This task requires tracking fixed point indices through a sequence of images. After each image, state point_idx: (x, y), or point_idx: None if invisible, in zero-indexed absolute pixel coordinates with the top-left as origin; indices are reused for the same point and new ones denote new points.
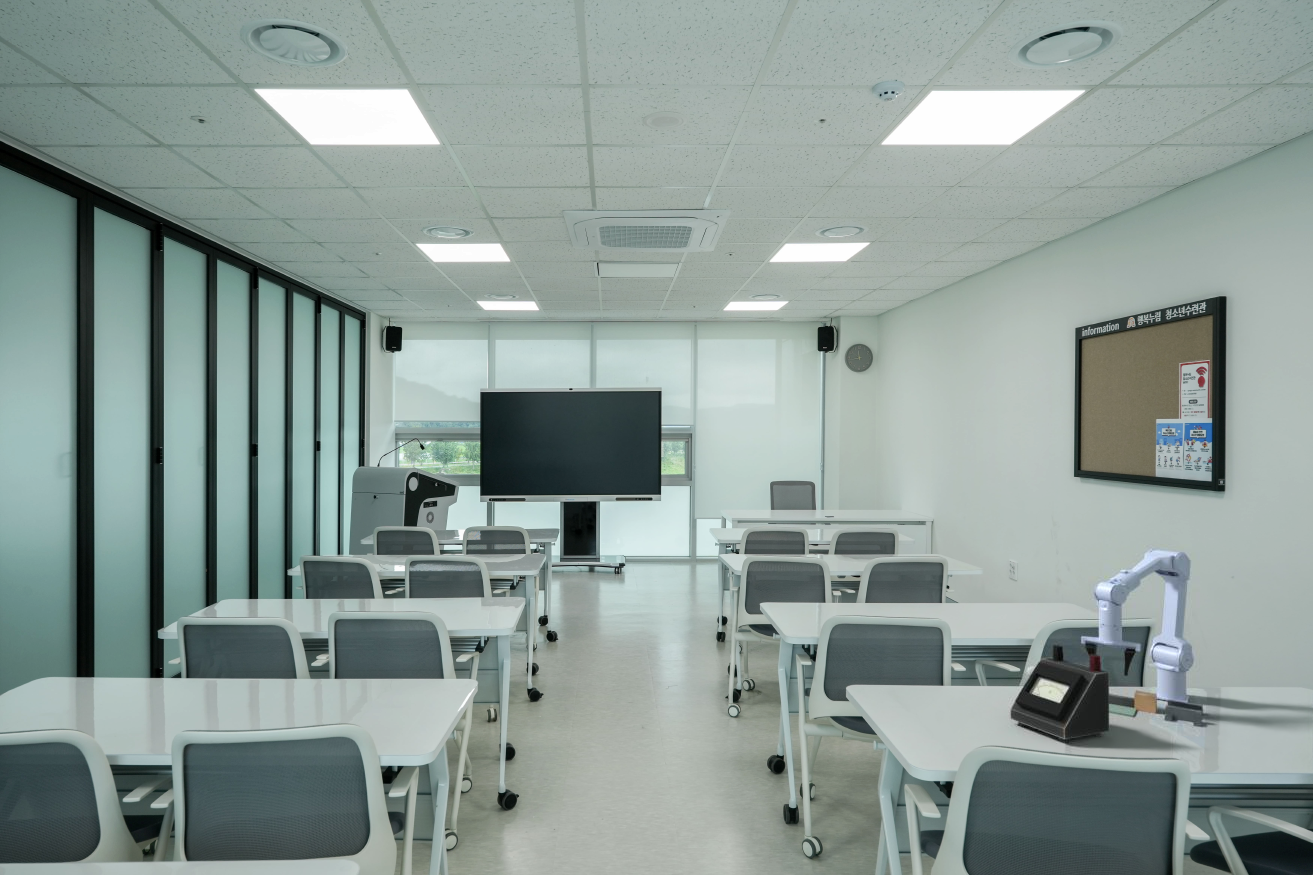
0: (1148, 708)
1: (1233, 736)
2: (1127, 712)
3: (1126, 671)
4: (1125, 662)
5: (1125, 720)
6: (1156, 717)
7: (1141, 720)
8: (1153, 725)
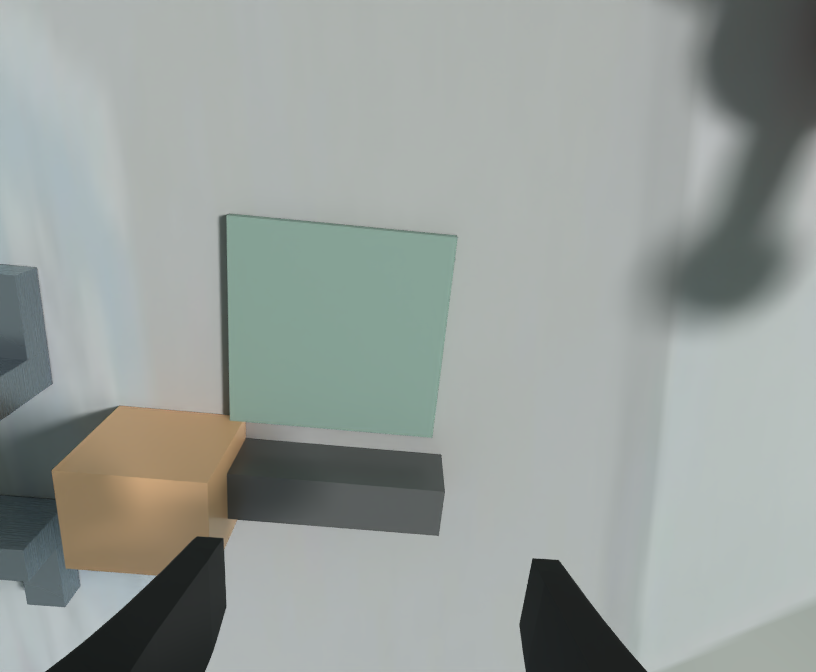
0: (151, 421)
1: None
2: (272, 274)
3: (177, 565)
4: (124, 666)
5: (269, 59)
6: (95, 303)
7: (167, 145)
8: (70, 46)
